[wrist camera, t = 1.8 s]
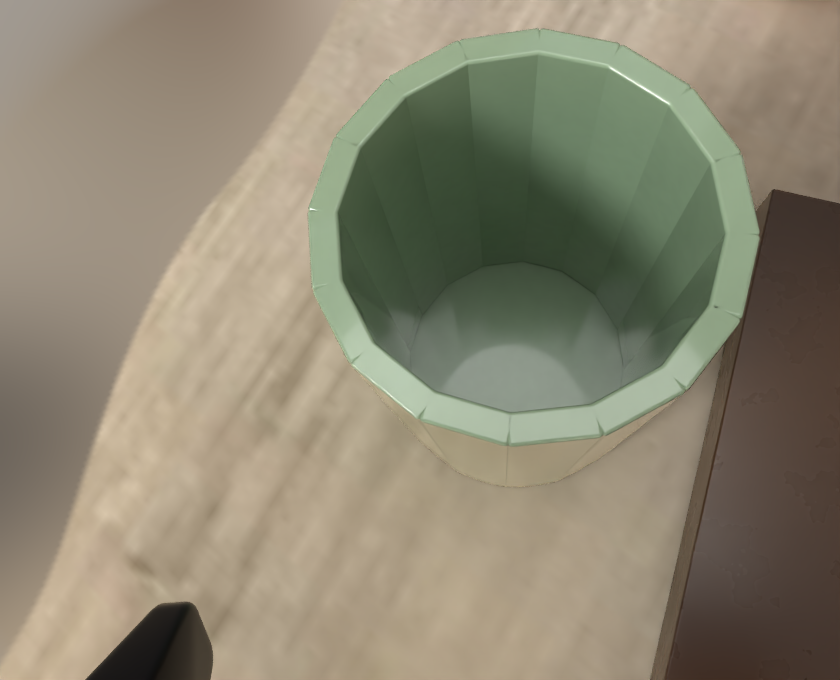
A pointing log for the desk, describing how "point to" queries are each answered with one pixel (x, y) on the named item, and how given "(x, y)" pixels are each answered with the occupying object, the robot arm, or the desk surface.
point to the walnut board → (769, 474)
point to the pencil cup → (531, 248)
